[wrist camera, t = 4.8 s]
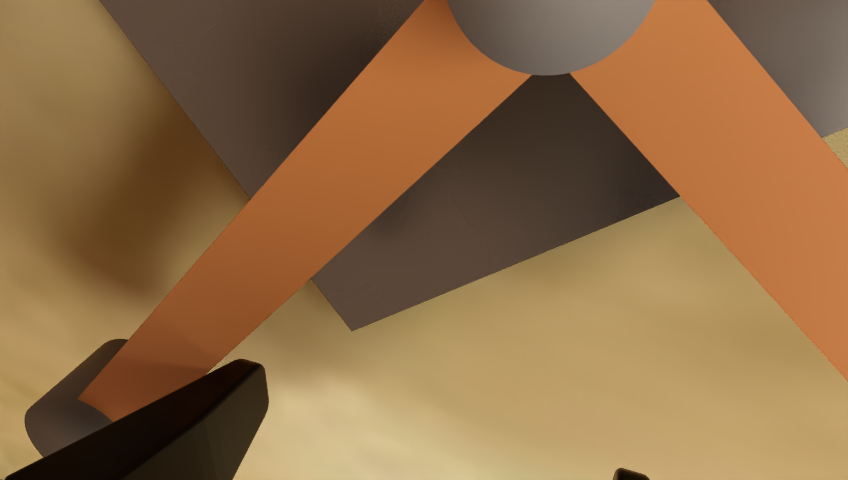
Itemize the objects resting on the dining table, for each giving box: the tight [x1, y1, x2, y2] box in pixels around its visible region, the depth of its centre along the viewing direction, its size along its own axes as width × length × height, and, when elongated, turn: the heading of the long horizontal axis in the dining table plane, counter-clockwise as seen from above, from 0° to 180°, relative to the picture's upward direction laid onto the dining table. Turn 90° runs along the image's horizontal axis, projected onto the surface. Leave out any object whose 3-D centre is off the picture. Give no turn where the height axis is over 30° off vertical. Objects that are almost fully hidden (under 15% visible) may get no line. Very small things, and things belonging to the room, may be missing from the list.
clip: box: [25, 0, 848, 457], centre depth 10 cm, size 13×8×4 cm, turn 137°
